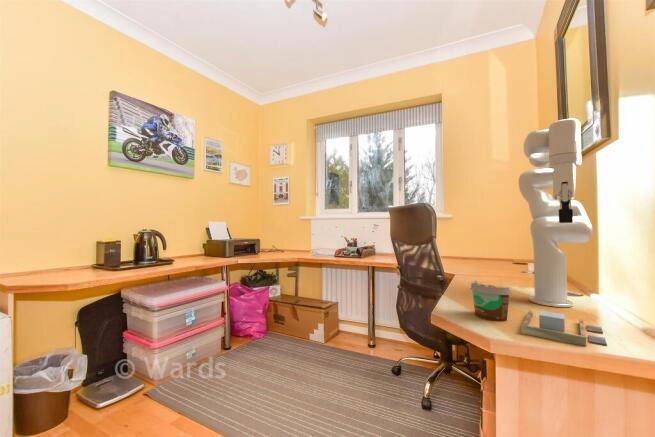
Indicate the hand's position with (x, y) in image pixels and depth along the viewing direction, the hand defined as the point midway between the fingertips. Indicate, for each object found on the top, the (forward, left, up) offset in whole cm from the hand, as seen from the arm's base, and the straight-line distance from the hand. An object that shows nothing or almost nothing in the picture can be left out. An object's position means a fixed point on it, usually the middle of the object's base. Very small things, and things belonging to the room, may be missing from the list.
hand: (565, 222), depth 86 cm
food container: (+13, -19, -29) cm, 37 cm away
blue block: (+16, -3, -29) cm, 34 cm away
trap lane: (+11, -1, -29) cm, 31 cm away
